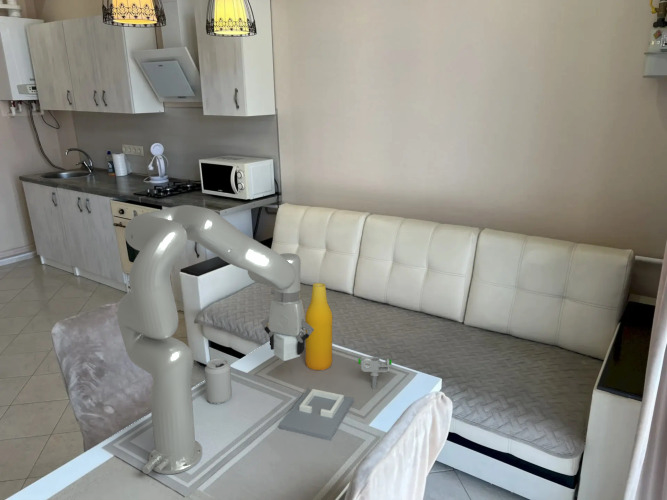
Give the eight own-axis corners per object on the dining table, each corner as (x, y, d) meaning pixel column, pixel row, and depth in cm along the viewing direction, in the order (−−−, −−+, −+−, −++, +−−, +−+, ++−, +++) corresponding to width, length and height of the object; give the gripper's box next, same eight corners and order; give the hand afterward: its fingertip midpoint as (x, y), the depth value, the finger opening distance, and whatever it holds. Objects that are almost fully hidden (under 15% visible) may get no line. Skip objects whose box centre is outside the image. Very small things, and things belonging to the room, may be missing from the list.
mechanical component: (390, 390, 153) (391, 361, 150) (357, 389, 153) (358, 360, 151) (389, 385, 156) (390, 356, 153) (357, 384, 156) (358, 356, 154)
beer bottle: (303, 359, 173) (303, 281, 165) (329, 357, 174) (330, 280, 167) (307, 372, 164) (307, 290, 157) (334, 369, 165) (335, 288, 158)
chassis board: (330, 440, 128) (330, 431, 128) (279, 428, 133) (279, 419, 133) (353, 401, 147) (354, 393, 146) (307, 392, 151) (307, 384, 151)
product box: (273, 354, 148) (273, 331, 147) (289, 349, 152) (290, 327, 150) (283, 361, 144) (283, 338, 142) (300, 356, 147) (301, 333, 146)
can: (217, 408, 142) (215, 371, 139) (201, 399, 147) (199, 363, 144) (237, 397, 148) (235, 361, 145) (220, 389, 152) (218, 354, 149)
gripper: (254, 295, 143) (255, 350, 147) (309, 303, 137) (308, 360, 141) (266, 288, 150) (267, 341, 154) (319, 295, 144) (318, 350, 148)
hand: (286, 350), depth 147 cm, fingers closed on product box, 8 cm apart
